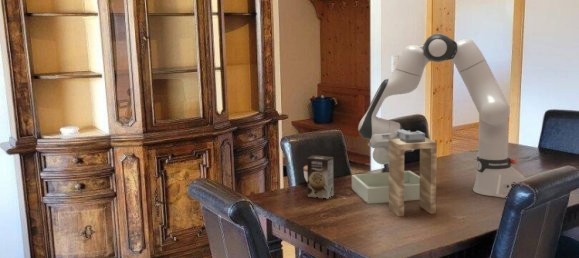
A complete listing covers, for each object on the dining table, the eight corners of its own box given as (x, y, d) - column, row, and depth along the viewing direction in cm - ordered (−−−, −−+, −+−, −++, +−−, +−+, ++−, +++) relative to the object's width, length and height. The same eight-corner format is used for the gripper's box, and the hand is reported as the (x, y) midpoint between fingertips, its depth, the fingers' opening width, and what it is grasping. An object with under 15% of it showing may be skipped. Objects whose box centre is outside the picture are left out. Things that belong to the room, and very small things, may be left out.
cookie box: (307, 196, 222) (306, 157, 219) (314, 192, 227) (313, 154, 224) (327, 199, 217) (327, 159, 215) (334, 195, 223) (333, 156, 220)
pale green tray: (410, 184, 236) (410, 170, 235) (431, 198, 214) (431, 183, 213) (351, 188, 231) (351, 174, 230) (367, 203, 210) (367, 188, 209)
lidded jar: (308, 188, 234) (307, 167, 232) (300, 182, 244) (300, 161, 242) (331, 186, 236) (331, 165, 235) (323, 180, 247) (323, 159, 245)
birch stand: (424, 205, 206) (425, 137, 202) (435, 213, 197) (436, 142, 192) (388, 208, 204) (389, 139, 200) (398, 216, 194) (398, 144, 190)
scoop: (408, 134, 209) (408, 126, 209) (425, 141, 194) (425, 133, 193) (390, 135, 208) (390, 127, 208) (406, 143, 193) (406, 134, 192)
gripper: (365, 138, 217) (375, 126, 204) (414, 135, 220) (426, 123, 208) (367, 153, 215) (377, 142, 202) (417, 150, 218) (430, 139, 205)
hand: (403, 132), depth 205 cm, fingers closed on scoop, 3 cm apart
